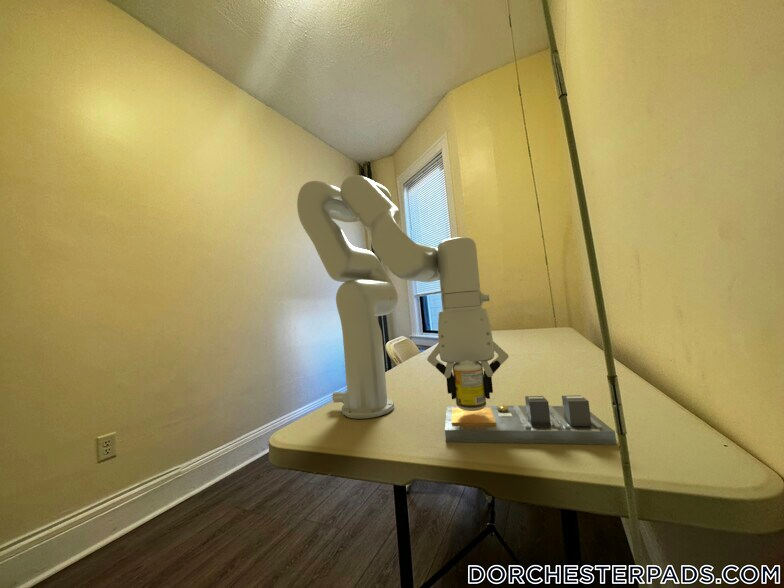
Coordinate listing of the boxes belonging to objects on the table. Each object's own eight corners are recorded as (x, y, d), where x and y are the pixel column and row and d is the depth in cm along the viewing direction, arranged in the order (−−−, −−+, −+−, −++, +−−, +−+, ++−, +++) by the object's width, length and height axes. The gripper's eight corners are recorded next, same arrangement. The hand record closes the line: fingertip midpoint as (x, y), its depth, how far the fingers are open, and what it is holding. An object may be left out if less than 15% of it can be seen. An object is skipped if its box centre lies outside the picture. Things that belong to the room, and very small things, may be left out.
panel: (445, 441, 50) (442, 405, 50) (447, 415, 62) (445, 386, 62) (616, 444, 45) (611, 403, 45) (582, 415, 56) (579, 383, 57)
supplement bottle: (458, 401, 59) (453, 350, 59) (486, 402, 57) (481, 350, 57) (454, 411, 53) (449, 355, 54) (485, 412, 51) (480, 355, 52)
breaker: (571, 425, 48) (568, 400, 48) (564, 418, 50) (561, 394, 51) (591, 426, 47) (588, 399, 47) (583, 418, 50) (580, 394, 50)
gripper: (504, 299, 58) (514, 390, 57) (419, 306, 62) (427, 392, 61) (511, 298, 51) (522, 403, 50) (415, 306, 54) (423, 404, 53)
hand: (470, 395), depth 55 cm, fingers closed on supplement bottle, 5 cm apart
